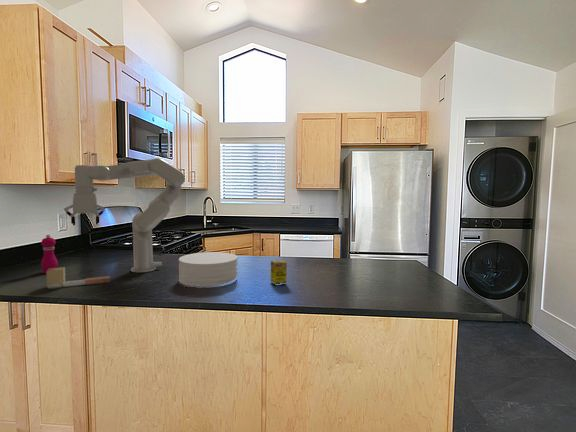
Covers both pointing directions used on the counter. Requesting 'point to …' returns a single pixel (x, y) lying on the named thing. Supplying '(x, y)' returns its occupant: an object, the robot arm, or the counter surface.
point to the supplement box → (278, 272)
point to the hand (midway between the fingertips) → (85, 224)
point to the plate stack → (207, 268)
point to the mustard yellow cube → (55, 275)
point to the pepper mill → (48, 254)
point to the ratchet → (81, 282)
